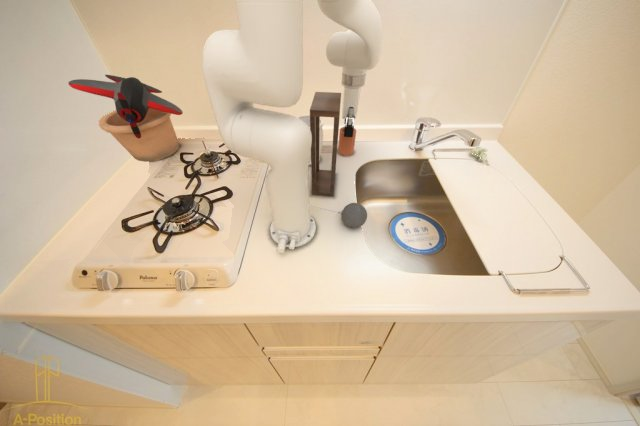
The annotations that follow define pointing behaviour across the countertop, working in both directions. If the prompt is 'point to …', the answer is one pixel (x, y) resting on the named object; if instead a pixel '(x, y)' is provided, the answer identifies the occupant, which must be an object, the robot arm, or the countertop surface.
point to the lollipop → (353, 215)
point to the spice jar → (346, 143)
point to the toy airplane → (128, 98)
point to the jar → (307, 120)
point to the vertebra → (480, 151)
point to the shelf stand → (321, 107)
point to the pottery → (144, 135)
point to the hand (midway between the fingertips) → (348, 130)
